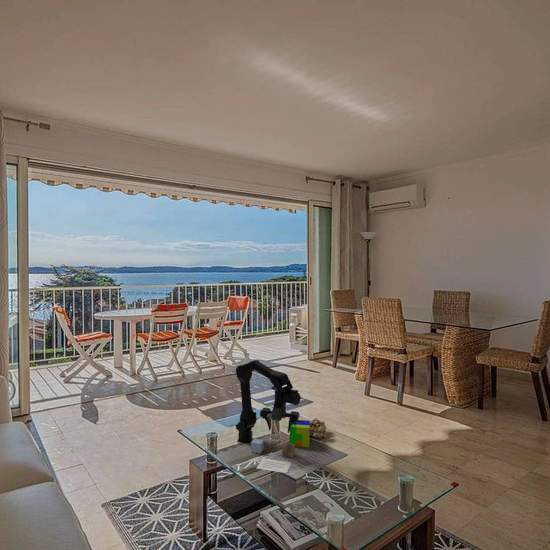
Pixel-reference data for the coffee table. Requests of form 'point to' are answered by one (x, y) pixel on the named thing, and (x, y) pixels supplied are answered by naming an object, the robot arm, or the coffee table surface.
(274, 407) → the robot arm
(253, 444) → the blue cube
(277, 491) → the coffee table surface
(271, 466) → the letter
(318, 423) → the mineral formation
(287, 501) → the coffee table surface
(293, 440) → the puzzle toy
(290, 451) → the walnut block
